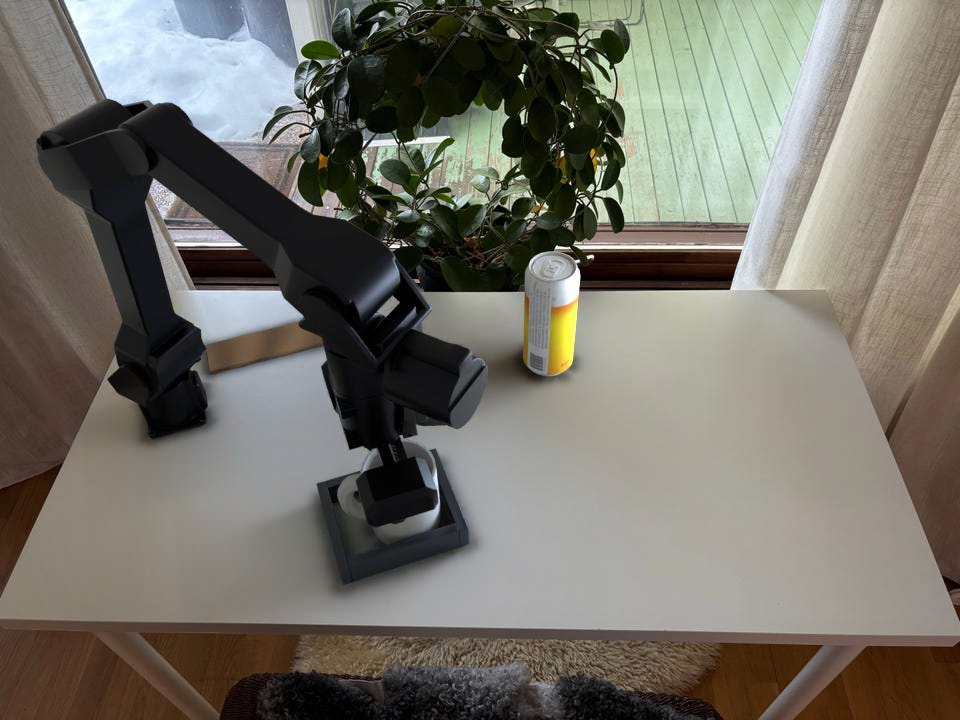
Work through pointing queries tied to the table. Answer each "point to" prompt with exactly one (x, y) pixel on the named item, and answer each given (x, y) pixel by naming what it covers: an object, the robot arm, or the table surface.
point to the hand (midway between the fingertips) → (385, 483)
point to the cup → (411, 524)
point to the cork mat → (259, 346)
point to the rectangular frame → (399, 550)
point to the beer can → (550, 312)
